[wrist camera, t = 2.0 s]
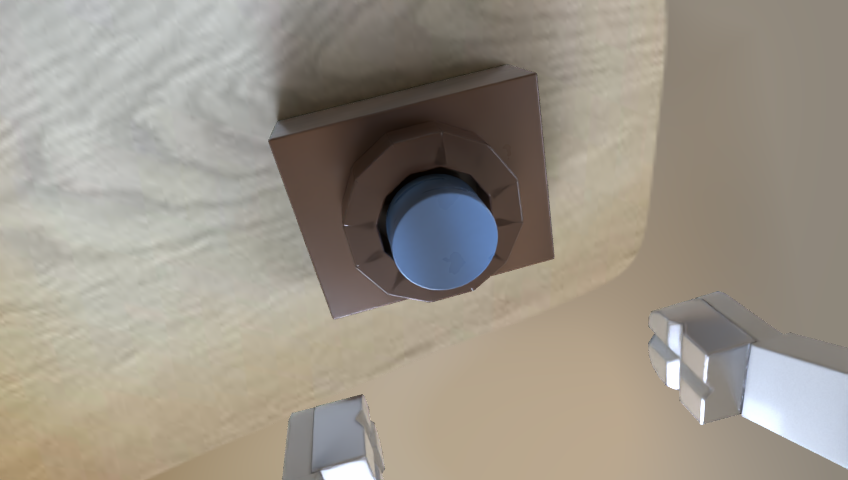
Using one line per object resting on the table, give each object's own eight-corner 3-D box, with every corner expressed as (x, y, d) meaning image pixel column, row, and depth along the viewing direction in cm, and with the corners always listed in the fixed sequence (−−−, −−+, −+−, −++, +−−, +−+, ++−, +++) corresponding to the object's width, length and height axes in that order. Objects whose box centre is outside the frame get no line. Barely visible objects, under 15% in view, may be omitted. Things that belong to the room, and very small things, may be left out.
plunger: (473, 162, 17) (490, 179, 15) (487, 249, 19) (504, 275, 17) (374, 187, 17) (380, 209, 15) (398, 273, 18) (405, 302, 17)
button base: (508, 63, 20) (558, 78, 16) (528, 229, 24) (573, 279, 20) (276, 121, 20) (260, 153, 15) (332, 282, 23) (333, 347, 19)
